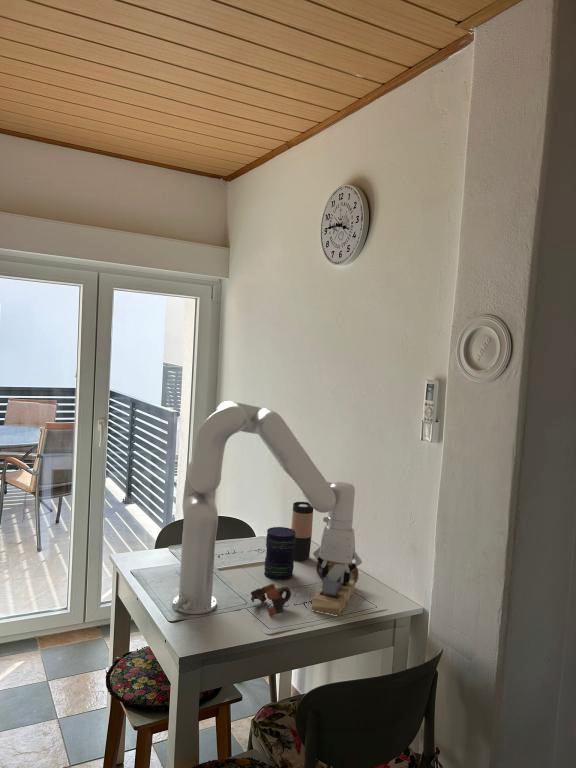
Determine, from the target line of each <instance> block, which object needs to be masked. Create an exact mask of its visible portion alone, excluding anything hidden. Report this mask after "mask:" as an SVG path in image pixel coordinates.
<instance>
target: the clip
mask: <svg viewBox="0 0 576 768" xmlns="http://www.w3.org/2000/svg"><path fill="white" fill-rule="evenodd" d="M345 570H346V569H345V566H343V565H338V564H335V565H334V567H333V568H332V569H331V570H330V571H329V573H328V574H327V575H326V576H325V577H324V578H323V580H322V586H321V587H322V592H323V596H327V597H331V598H336V599H337V595H338V590H339V589H340V588H341V586H345V587H346V585H343V580H344V572H345Z"/></svg>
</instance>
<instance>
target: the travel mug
mask: <svg viewBox="0 0 576 768" xmlns="http://www.w3.org/2000/svg"><path fill="white" fill-rule="evenodd" d="M291 514H292V516H291V528H290V529H293V530H294V531H295V532H296V535H295V549H294V554H293V559H294V562H307V561H309V560H310V553H311V545H312V544H311V543H312V538H313V537H312V535H313V534H312V533H313V521H314V520H313V519H314V508H313V507H312V506H311V505H310V504H309V503H308V502H307V501H296V502H293V503H292V513H291Z"/></svg>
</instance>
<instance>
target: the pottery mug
mask: <svg viewBox="0 0 576 768" xmlns="http://www.w3.org/2000/svg"><path fill="white" fill-rule="evenodd" d="M284 593H285V595H284V596H285V597H283V594H284ZM250 594H251V598H250V601H251V602H252V603H254V602H255V601H254V600H259V601H260V602H261V603H264V602H266V601H267V599H268V600H270V601H271V602H272V606H271V607H268V608H267V612H268V616H269V617H274V616H275V615H278V614H281V613H283V612H284V606H285V604H286V603H287V602H289V600H290V599H291V597H292V591H291V589H290V588H289V587H288V586H283V587H280V588H279V587H276V586H275V583H270V584H267V585H264V586H263V587H261V588H256V589H255V590H252V591H251V592H250Z"/></svg>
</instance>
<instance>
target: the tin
mask: <svg viewBox="0 0 576 768" xmlns="http://www.w3.org/2000/svg"><path fill="white" fill-rule="evenodd" d="M353 563H354V562H353V561H352V562H351V565H352V564H353ZM335 564H338V565H343V566H344V564H341V563H336V562H331V561H329V562H328V566H329V571H330V570H331V569H332V568H333V567H334V565H335ZM329 571H328V573H329ZM316 573H317V575H318V577H319V578H320V579H321V581H323V577H322V567H321V564H320V563H319V562H318V561H317V562H316ZM350 579H354V580H355V584H357V582H358V580H359V570H358V566H357V567H355V568H354V569H353V570H352V571H350Z"/></svg>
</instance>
